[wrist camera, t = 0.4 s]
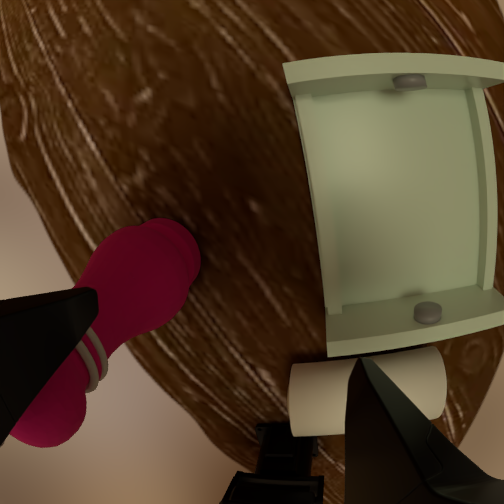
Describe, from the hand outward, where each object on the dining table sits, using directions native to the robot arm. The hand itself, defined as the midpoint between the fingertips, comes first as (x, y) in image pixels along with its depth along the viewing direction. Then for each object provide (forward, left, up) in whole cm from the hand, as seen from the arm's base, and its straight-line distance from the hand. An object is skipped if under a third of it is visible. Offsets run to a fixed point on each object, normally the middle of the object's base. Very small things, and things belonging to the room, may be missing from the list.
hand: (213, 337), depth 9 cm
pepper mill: (-1, +9, -14) cm, 16 cm away
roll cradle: (+1, -10, -14) cm, 17 cm away
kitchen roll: (-14, -6, -11) cm, 18 cm away
